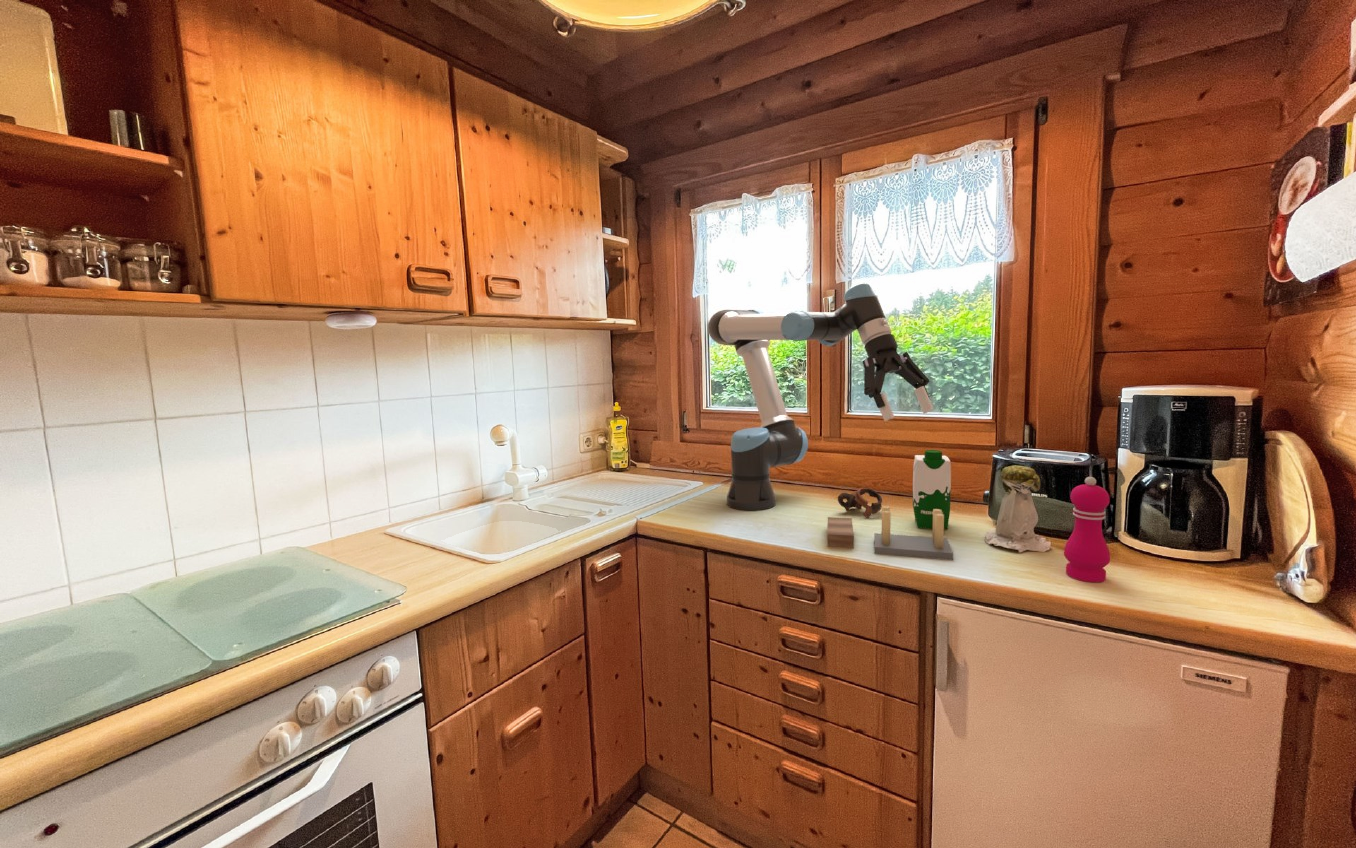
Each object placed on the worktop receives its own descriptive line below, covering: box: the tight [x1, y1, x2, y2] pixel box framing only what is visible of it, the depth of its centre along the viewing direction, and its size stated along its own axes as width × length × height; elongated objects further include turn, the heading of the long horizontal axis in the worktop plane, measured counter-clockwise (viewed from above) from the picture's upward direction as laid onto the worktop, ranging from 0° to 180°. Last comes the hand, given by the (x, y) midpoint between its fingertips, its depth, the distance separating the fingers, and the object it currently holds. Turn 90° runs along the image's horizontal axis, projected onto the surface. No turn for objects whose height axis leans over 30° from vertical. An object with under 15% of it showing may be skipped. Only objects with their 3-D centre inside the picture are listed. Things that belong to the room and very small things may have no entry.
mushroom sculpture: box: [983, 464, 1051, 554], centre depth 122 cm, size 12×13×18 cm
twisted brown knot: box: [837, 487, 883, 518], centre depth 151 cm, size 12×10×8 cm
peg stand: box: [873, 505, 954, 561], centre depth 122 cm, size 16×10×9 cm, turn 70°
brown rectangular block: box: [826, 516, 855, 549], centre depth 132 cm, size 14×6×4 cm, turn 164°
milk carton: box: [912, 449, 952, 531], centre depth 138 cm, size 9×9×20 cm
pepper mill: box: [1063, 476, 1111, 583], centre depth 103 cm, size 7×7×20 cm
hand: (909, 415), depth 131 cm, fingers open, 13 cm apart
